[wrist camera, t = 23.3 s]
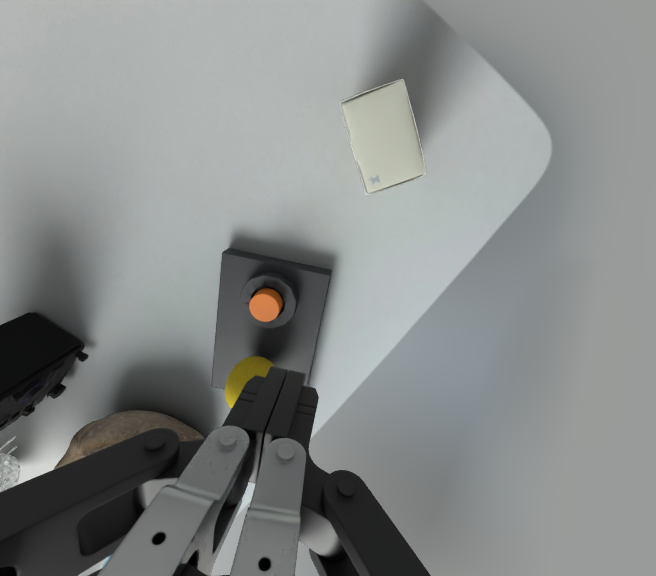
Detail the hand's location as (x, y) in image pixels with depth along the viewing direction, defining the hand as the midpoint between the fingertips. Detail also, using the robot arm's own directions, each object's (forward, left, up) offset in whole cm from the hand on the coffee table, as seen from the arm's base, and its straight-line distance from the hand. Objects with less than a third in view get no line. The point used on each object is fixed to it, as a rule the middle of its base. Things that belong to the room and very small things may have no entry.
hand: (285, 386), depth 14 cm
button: (+6, +6, -21) cm, 23 cm away
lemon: (+5, +15, -23) cm, 28 cm away
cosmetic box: (-2, -11, -25) cm, 27 cm away
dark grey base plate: (+6, +11, -24) cm, 27 cm away
